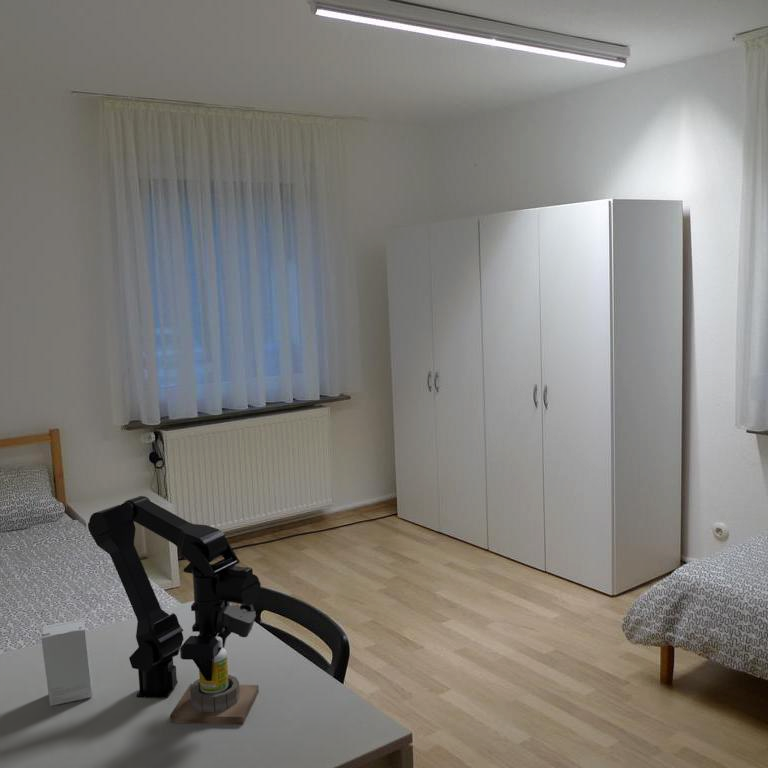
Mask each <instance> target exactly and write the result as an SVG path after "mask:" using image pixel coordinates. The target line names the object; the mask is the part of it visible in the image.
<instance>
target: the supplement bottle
mask: <svg viewBox="0 0 768 768" xmlns="http://www.w3.org/2000/svg"><path fill="white" fill-rule="evenodd" d="M216 639H217V640H218V642H219V647H222V648H221V650H220V651H219V653H218V654H217V655H216V656H215V657H214V667H213V676H212V680H211V681H206V680H205V678H204V677H203V675H202V673H201V672H200V670H199V669H198V672H199V679H200V689H201V691H202V692H204V693H206V694H216V693H220V692H222V691H224V690H226V689H227V687H228V675H229V674H228V673H229V670H228V668H229V667H228V653H227V652H228V651H227V650H226V649H225V647H224V648H223V642H222V638H221V637H218V636H217V637H216Z"/></svg>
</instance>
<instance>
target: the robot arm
mask: <svg viewBox="0 0 768 768" xmlns="http://www.w3.org/2000/svg"><path fill="white" fill-rule="evenodd" d="M135 523H137V524H138V525H140V526H142V527H143V528H145V529H147V530H148V531H151V532H152V533H154V534H155V535H158V536H159V537H161V538H162V539H164V540H166V541H168V542H170V543H171V544H173V545H175V546H176V547H177V550H178V552H179V555H181V556H182V557H183V558H184V559H185V560H187V562H189V563H188V564H187V565H186V566H185V567H184V568H183V572H184V573H187V574H190V575H191V574H192V582H193V583H192V584H193V602H192V604H191V605H190V610H191V612H194V620H195V621H194V623H193V625H192V626H191V631H192V632H196V633H197V632H198V633H199V634H198V635H190V636H189V637H188V638H187V639H186V640H185V641H184V634H183V632H184V629H183V628H182V626H181V624H180V622H179V620H178V616H177V615H176V614H175V613H174V612H173V613H171V614H169V613H168V612H167V611H165V610H163V609H162V606H161V605H160V602H159V600H158V598H157V595H156V592H155V591H154V588H153V586H152V583H151V581H150V579H149V576H148V575H147V572H146V570H145V567H144V565H143V562H142V560H141V558H140V556H139V553H138V551H137V549H136V546H135V538H136V532H137V531H136V530H137V529H136V525H135ZM87 527H88V531H89V533H90V535H91V537H92V539H93V541H94V543H95V544H96V545H97V547H99V548H100V549H101V550H103V551H104V552H105V553H107V554H108V555H109V556H110V558H111V560H112V563H113V566H114V567H115V570H116V572H117V575H118V576H119V577H118V578H119V579H120V582H121V584H122V586H123V590H124V592H125V594H126V596H127V598H128V602H129V604H130V605H131V608H132V610H133V612H134V615H135V617H136V621H137V624H136V632H135V639H136V642H137V646H138V647H137V648H136V649H135V651H134V652H132V654H131V655H130V656H129V658H128V659H129V663H130V665H131V668H132V669H135V670H137V672H138V673H137V674H138V685H139V688H138V689H139V690H138V691H137V693H136V698H147V699H148V698H154V699H155V698H156V699H158V698H159V699H161V698H162V699H163V698H164V699H166V698H169V696H170V695H171V693H172V692H173V690H174V689H175V688H176V687H177V684H178V679H177V666H176V665H174V657H176V656H178V655H179V653H180V655H179V656H180V659H181V660H187V661H188V660H189V661H190V660H192V661H193V663H194V664H195V665H196V667H197V668H198V671H199V670H200V672H201V673H202V675H203V677H204V678H205V680H206V681H211V680H212V676H213V667H214V657H215V656H216V655H217V654H218V653H219V651H220V650H221V648H222V647H219V642H218V640H217V639H216V637H217V636H218V637H221V638H222V642H223V648H224V649H225V645H226V641H227V638H228V637H229V636H230V635H231V634H235V635H238V636H239V637H240V638H247V637H249V634H250V633H251V631H252V628H253V626H254V623H255V620H256V618H257V614H256V611H255V608H254V603H256V602H257V600H258V598H259V596H260V593H261V589H262V588H261V587H262V585H261V581H260V578H259V577H258V576H257V575H256V574H253V573H254V572H253V571H254V570H253V568H252V567H249V566H248V567H247V566H244V567H243V566H242V567H241V566H238V564H240V559H239V558H238V556H237V555H236V554H237V553H235V551H234V550H233V548H232V546H231V544H230V543H229V542H228V540H227V538H226V534H225V533H224V532H223V531H222V530H221V529H218V528H216V527H213V526H211V525H207V524H199V523H195V524H194V523H193V522H192V523H191V522H189V521H187V520H185V519H184V518H182V517H180V516H178V515H177V514H174V513H173V512H171V511H170V510H167V509H166V508H164V507H162V506H160V505H158V504H156V503H154V502H153V501H151V500H150V498H149V497H147V496H145V495H139V496H136V497H133V498H130V499H127V500H125V501H124V502H123V503H122V504H117V505H114V506H111V507H109V508H104V509H102V510H99V511H96V512H93V513H92V514H91V515H90V517H89V521H88V522H87ZM220 558H223V559H221V560H219V561H217V562H215V563H212V562H213V561H216V560H218V559H220ZM231 603H233V604H235V605H236V606H235V605H232V604H231ZM183 641H184V642H183Z"/></svg>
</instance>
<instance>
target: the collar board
mask: <svg viewBox="0 0 768 768" xmlns="http://www.w3.org/2000/svg"><path fill="white" fill-rule="evenodd" d="M259 690H260V689H259V685H258V684H240V682H239V680H238V678H237V677H236V676H233V675H230V674H228V687H227V689H226V690H224V691H222V692H220V693H216V694H206V693H204V692H202V691H201V689H200V678H199V679H196V680H194V681H193V683H190V684H189V686H188V688H187V689H186V690H185V692H184V693H183V695H182V696H181V698H180V699H179V701H178V703H177V704H176V705H175V707H174V708H173V710H172V711H171V712H170V714H169V722H170V724H193V725H194V724H200V725H207V724H208V725H240V726H241V725H243V726H244V725H245V722H246V720H247V717H248V715H249V713H250V711H251V710H252V707H253V705H254V703H255V701H256V698H257V697H258V694H259V692H260V691H259Z"/></svg>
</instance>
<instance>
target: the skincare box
mask: <svg viewBox="0 0 768 768" xmlns="http://www.w3.org/2000/svg"><path fill="white" fill-rule="evenodd" d="M85 622H86V621H85V618H80V619H75V620H71V621H66V622H65V621H64V622H60V623H53V624H50V625H48V624H47V625H43V626H42V631H41V632H42V633H41V638H40V640H41V645H42V646H41V647H42V653H43V661H44V662H43V664H44V669H45V670H44V671H45V676H46V683H47V692H48V700H49V706H50V707H52V706H56V705H58V706H59V705H61V704H67V703H72V702H74V701H76V702H77V701H81V700H85V699H90V698H92V697H93V681H92V672H91V671H92V670H91V664H90V654H89V646H88V638H87V637H88V636H87V629H86V623H85Z"/></svg>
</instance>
